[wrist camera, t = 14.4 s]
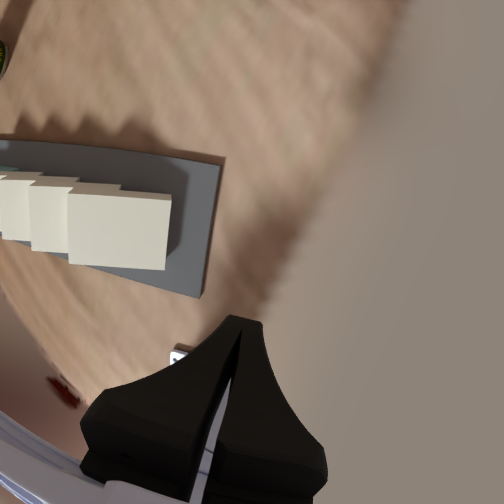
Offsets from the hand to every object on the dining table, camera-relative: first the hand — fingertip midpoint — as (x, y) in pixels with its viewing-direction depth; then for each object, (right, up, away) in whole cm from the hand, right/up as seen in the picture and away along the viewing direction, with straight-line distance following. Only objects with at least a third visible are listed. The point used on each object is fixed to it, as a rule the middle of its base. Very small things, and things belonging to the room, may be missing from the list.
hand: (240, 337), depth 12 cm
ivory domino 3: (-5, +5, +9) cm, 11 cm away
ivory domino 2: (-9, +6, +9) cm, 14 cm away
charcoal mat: (-14, +7, +11) cm, 19 cm away
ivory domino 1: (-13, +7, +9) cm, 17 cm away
